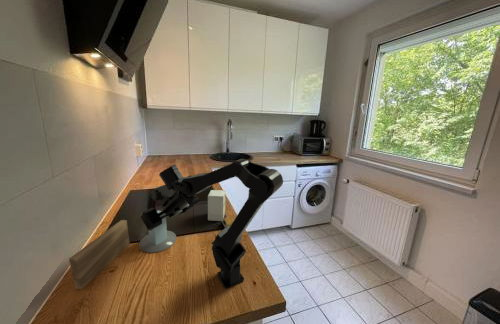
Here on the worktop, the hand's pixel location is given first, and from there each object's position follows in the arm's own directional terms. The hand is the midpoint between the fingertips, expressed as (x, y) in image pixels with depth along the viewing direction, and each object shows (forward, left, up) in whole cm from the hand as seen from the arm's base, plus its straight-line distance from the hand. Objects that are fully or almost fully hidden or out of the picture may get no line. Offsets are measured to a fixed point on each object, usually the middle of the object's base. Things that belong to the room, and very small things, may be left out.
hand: (159, 220), depth 75 cm
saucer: (+1, +1, -10) cm, 10 cm away
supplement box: (+8, -26, -10) cm, 29 cm away
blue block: (+1, +1, -9) cm, 9 cm away
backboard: (-3, +17, -10) cm, 20 cm away
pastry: (-1, -30, -10) cm, 32 cm away
